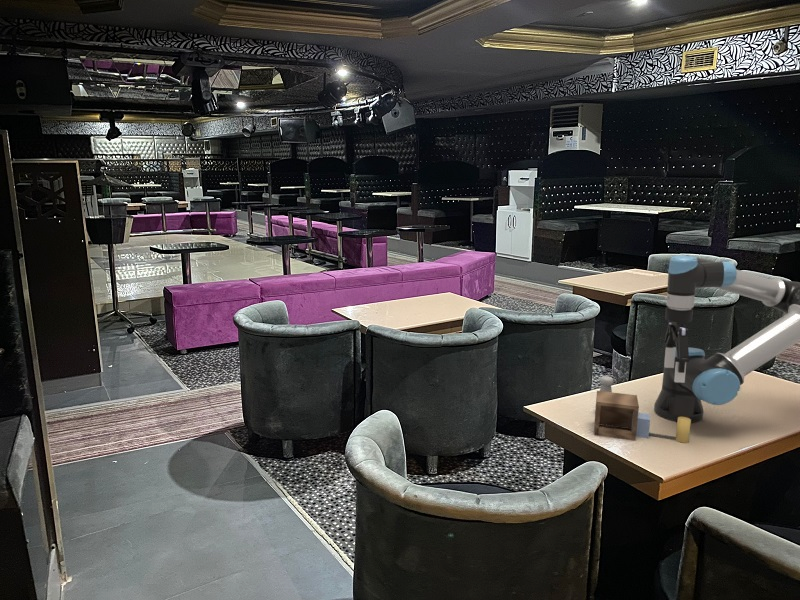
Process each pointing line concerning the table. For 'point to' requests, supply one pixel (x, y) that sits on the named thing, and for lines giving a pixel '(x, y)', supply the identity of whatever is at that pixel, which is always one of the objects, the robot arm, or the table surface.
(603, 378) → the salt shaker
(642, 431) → the tethered block
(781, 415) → the table surface
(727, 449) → the table surface
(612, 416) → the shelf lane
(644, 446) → the table surface
